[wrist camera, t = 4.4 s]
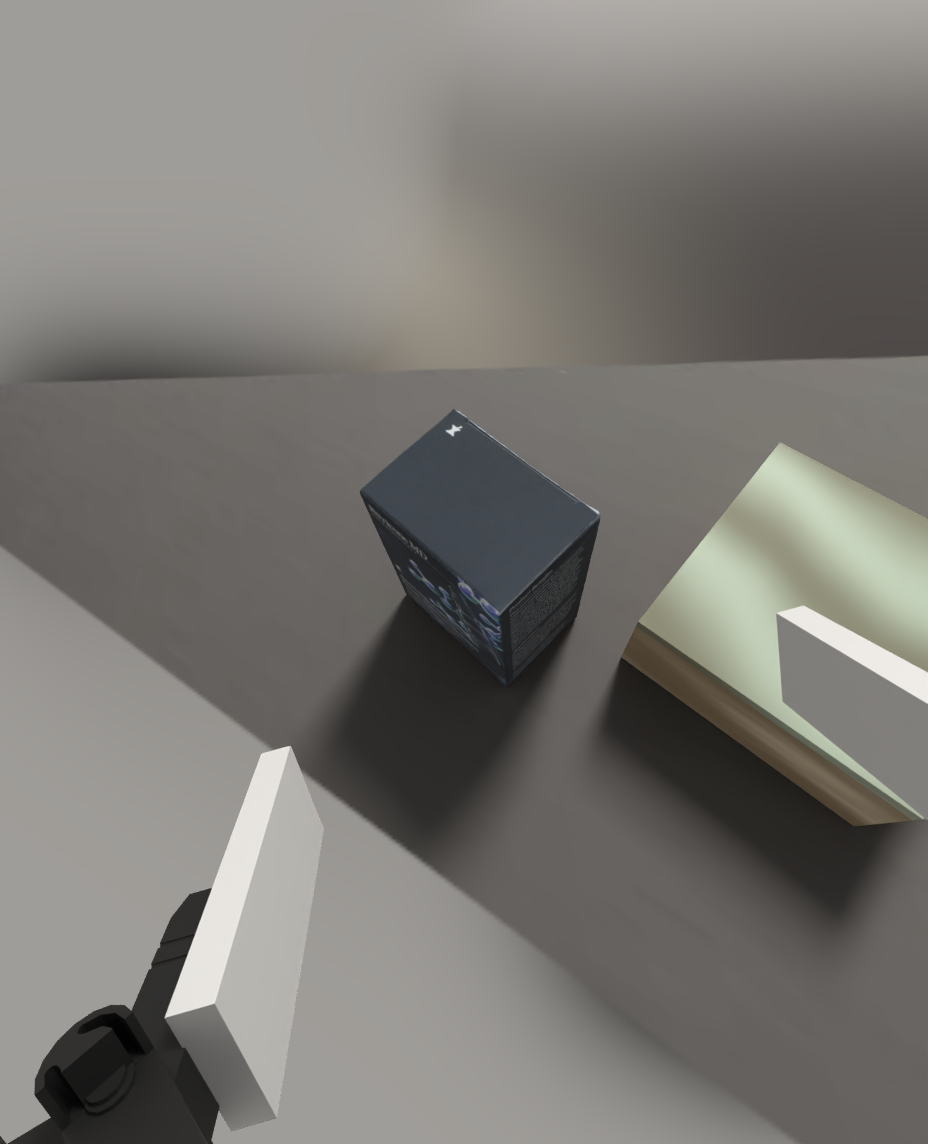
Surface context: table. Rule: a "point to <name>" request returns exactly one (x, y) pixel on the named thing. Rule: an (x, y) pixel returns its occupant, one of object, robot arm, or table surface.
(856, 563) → the stand
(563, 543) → the box
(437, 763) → the table surface
